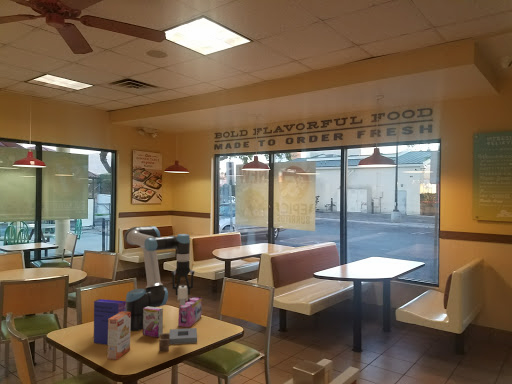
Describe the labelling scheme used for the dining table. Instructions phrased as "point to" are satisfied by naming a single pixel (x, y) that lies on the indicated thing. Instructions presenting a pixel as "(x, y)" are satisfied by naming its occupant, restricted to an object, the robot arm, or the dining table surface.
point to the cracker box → (119, 335)
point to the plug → (182, 294)
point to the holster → (164, 342)
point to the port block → (183, 336)
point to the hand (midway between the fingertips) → (182, 300)
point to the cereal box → (105, 317)
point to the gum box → (190, 311)
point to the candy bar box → (152, 321)
